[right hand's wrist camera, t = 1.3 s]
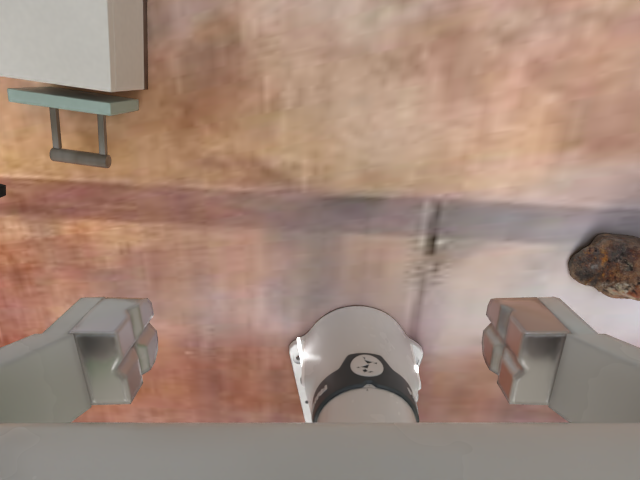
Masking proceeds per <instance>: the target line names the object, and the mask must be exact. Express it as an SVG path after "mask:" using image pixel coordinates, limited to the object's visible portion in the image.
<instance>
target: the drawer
mask: <svg viewBox="0 0 640 480" xmlns="http://www.w3.org/2000/svg"><path fill="white" fill-rule="evenodd" d="M7 91H8V99H9V101H10V102H16V103H23V104H30V105H37V106H44V107H49V108H50V119H51V129H52V140H53V148H52V149H51V150H50V158H51V160H53V161H58V162H65V163H73V164H80V165H87V166H95V167H102V168H109V167H110V166H111V157H110V155H106V154H107V135H106V115H108V116H112V115H117V114H122V113H127V112H132V111H138V110H139V100H138V99H133V98H126V97H119V96H112V95H105V94H98V93H91V92H84V91H77V90H70V89H64V88H57V87H29V88H8V89H7ZM58 109H65V110H72V111H79V112H86V113H93V114H97V117H98V135H99V153H100V154H98V153H91V152H84V151H76V150H69V149H62V144H61V133H60V122H59V110H58Z"/></svg>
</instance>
